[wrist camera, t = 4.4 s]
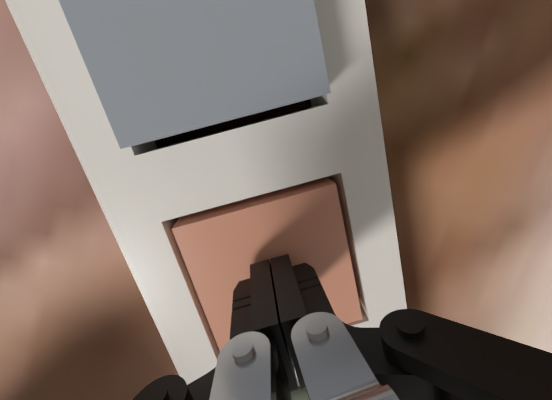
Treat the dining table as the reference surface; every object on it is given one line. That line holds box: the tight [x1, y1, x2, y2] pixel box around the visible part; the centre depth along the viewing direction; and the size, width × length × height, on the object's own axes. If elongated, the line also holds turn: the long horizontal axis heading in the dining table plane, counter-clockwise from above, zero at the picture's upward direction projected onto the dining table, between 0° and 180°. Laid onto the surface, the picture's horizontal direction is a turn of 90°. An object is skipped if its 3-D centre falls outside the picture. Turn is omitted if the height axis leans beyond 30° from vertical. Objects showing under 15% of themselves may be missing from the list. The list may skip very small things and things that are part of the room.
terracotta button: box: [172, 177, 362, 351], centre depth 12 cm, size 6×6×2 cm
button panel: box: [5, 0, 407, 386], centre depth 12 cm, size 10×30×2 cm, turn 14°
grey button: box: [59, 0, 331, 149], centre depth 8 cm, size 6×6×2 cm
